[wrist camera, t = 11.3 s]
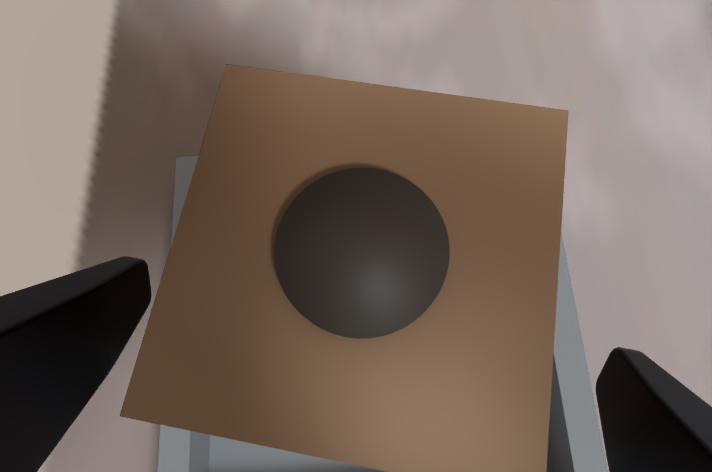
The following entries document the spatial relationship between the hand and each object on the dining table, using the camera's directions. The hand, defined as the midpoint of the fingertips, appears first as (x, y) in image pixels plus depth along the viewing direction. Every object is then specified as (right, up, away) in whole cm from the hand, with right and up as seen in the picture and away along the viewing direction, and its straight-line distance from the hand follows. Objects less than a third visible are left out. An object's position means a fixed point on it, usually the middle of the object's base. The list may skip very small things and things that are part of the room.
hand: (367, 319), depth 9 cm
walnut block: (0, -2, +9) cm, 9 cm away
